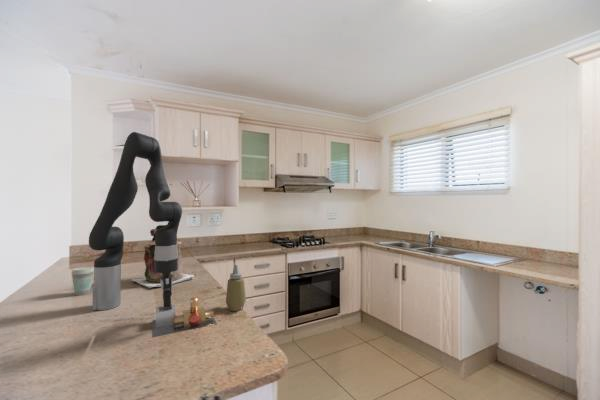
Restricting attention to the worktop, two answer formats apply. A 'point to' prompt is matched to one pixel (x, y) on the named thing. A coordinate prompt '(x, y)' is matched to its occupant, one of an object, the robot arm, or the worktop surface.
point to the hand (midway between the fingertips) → (166, 303)
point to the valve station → (187, 320)
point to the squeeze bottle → (235, 291)
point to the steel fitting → (165, 315)
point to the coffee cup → (82, 280)
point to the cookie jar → (150, 275)
